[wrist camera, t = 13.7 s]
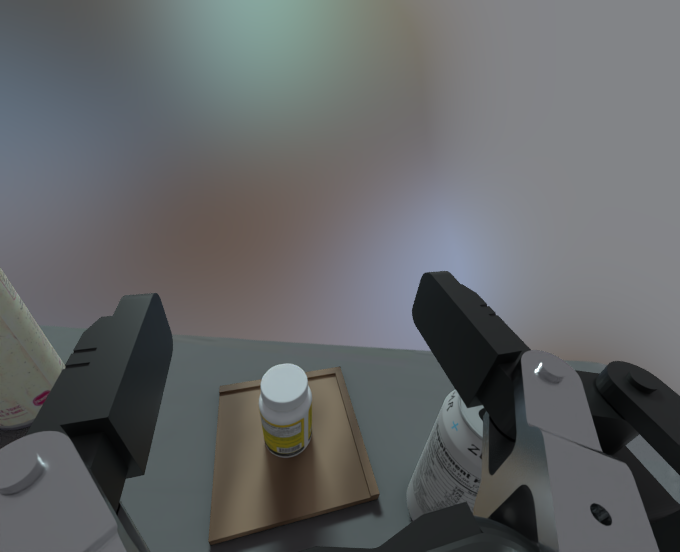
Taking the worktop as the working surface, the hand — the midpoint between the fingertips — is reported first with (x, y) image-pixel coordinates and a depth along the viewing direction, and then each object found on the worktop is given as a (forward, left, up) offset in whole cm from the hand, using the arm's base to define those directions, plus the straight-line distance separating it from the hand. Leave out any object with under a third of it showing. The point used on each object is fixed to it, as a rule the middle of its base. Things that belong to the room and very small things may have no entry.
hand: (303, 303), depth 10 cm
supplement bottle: (0, +9, -25) cm, 26 cm away
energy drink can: (+12, 0, -26) cm, 28 cm away
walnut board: (0, +9, -25) cm, 27 cm away
